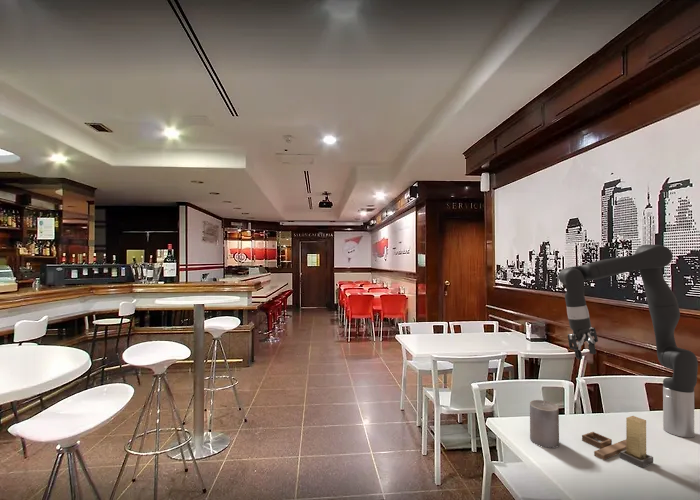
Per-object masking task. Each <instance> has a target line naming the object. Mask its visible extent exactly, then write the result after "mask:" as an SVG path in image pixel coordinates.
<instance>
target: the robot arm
mask: <svg viewBox="0 0 700 500" xmlns="http://www.w3.org/2000/svg"><path fill="white" fill-rule="evenodd" d="M673 257H674V256H673V252H672V250H671V249H670V248H668V247H667V246H664V245H661V244H642V245H640V246H638V247H637V249H636V250H635V252H634V254H631V255H625V256H619V257H612V258H605V259H601V260H596V261H593V262H589V263H586V264H581V265H575V266H571V267H570V266H569V267H565V268H563V269H562V270H560V271H559V273H558V275H557V278H558V280H559V282H561V283H562V284H563V285H565V288H566V292H565V293H564V300H565V306H566V314H567V320H568V324H569V328H570V329H571V330H572V333H568V334H567V339H568V345H569V346H568V347H569V349H570V350H573V351H574V355H575V356H574V357H575V358H576V359H577V360H583V355H582V349H581V348H582V346H583V345H584V343H585V342H586V343H587V344H588V345H587V346H588V351H589V354H590V355H596V354H597V349H596V343H598V342H599V339H598V334H597V331H596V327H592V324H591V319H590V317H591V316H590V313H589V309H588V306H587V301H586V296H585V282H586V281H595V280H600V279H604V278H608V277H612V276H616V275H620V274H624V273H629V272H635V271H639V274H640V277H641V280H642V284H643V289H644V293H645V297H646V301H647V307H648V311H649V314H650V318H651V322H652V326H653V327H652V328H653V332H654V333H653V334H654V338H655V339H654V340H655V346H656V348H655V349H656V354H657V355H656V356H657V360H658V362H659V363H660V365H661V366H662V367H663V368H666V369H668V370H672V371H673V372H672V377H665V378H663V381H662V400H663V401H662V413H663V414H662V422H663V423H662V425H663V427H662V429H663V430H664V431H665V432H667V433H669V434H671V435H674V436H678V437H682V438H687V439H690V438H694V437H695V387H696V385H697V381H698V371H699V362H698V358H697V356H696V354H695V353H694V352H693V351H692V350H689V349H685V348H682V347H678V345H677V343H676V339H675V329H676V327H677V326H678V323H679V320H680V318H681V312H680V307H679V306H680V305H679V302H678V299H677V297H676V295H675V293H674V291H673V290H672V288H670V286H669V284H668V283H667V281H666V280H665V278H664V275H663V272H662V268H665V267H667V266H668V265H669V264H670V263H671V262H672V261H673V259H674V258H673Z"/></svg>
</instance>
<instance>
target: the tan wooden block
mask: <svg viewBox="0 0 700 500" xmlns="http://www.w3.org/2000/svg"><path fill="white" fill-rule="evenodd" d="M625 422H626V424H625V425H626V426H625V427H626V428H625V429H626V433H625V434H626V435H625V436H626V437H625V438H626V439H625V440H626V454H628V455H630V456H632V457H634V458H637V459H639V460H643V459H646V454H647V420H646V419H643V418H641V417H637V416H635V415H631V416H628V417H626V421H625Z"/></svg>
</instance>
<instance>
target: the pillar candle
mask: <svg viewBox="0 0 700 500" xmlns="http://www.w3.org/2000/svg"><path fill="white" fill-rule="evenodd" d="M559 408H560V407H559V405H558V404H557V403H554V402H551V401H547V400H542V399H536V400H535V399H533V400H531V401H529V439H530V442H531V443H533V444H534V443H535V445H536V444H537V445H536V446H538V445H540V446H539V447H541V446H542V448H550V449H553V447H555V448H558V447H559V446H560V423H559V422H560V418H559V416H560V414H559V412H560V411H559V410H560V409H559ZM557 446H558V447H557ZM551 447H552V448H551Z"/></svg>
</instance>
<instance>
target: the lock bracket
mask: <svg viewBox="0 0 700 500" xmlns="http://www.w3.org/2000/svg"><path fill="white" fill-rule="evenodd" d="M581 441H582V442H584V443H586V444H589V445H591V446H593V447H596V448H597V450H594V451H593V453H594V454H593V455H594V457H596V458H599V459H600V460H602V461H604V460H607V459H609V458H612V457H614V456H617V455H619V458H620V459H622V460H624V461H626V462H629V463H631V464H633V465H635V466H637V467H639V468H641V469H643V468H646V467H647V466H650V465H652V464H654V456H652V455H649V454H647V453H646V459H643V460H639V459H637V458H634V457H632V456H630V455H628V454H626V439H623V440H621V441H618V442H615V443H613V444H612V439H611V438H609V437H607V436H604V435H602V434H599V433H597V432H595V431H590V432H587V433H585V434H582V435H581ZM619 453H620V454H619Z"/></svg>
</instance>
